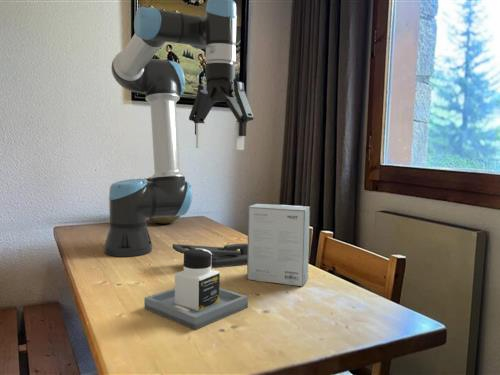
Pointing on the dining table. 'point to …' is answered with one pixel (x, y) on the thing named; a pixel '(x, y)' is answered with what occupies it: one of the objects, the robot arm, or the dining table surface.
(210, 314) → the tray
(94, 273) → the dining table surface
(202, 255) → the medicine bottle
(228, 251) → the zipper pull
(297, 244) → the hard drive box
